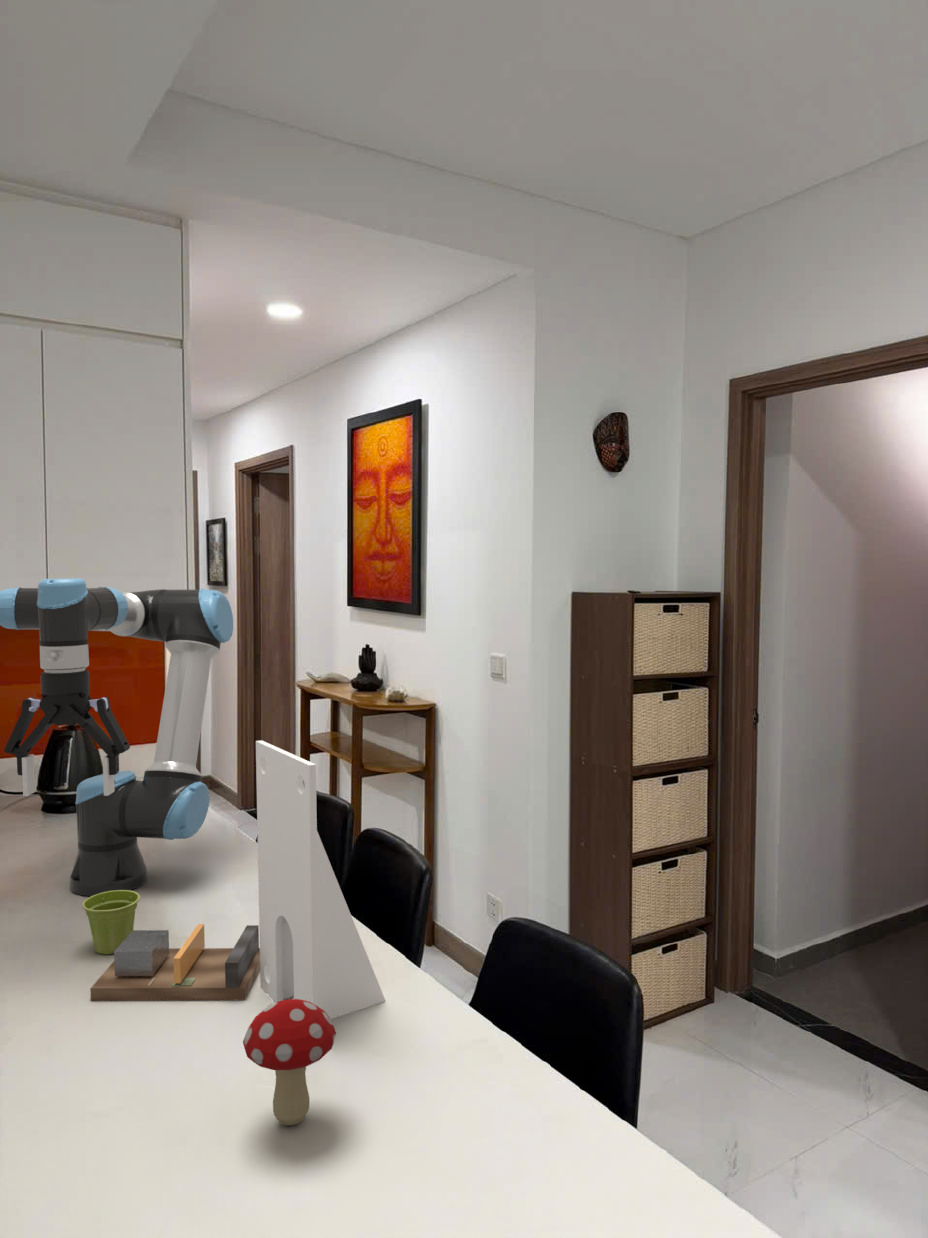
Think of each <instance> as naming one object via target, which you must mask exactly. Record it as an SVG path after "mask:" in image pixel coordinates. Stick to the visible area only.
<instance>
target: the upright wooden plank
mask: <svg viewBox="0 0 928 1238" xmlns="http://www.w3.org/2000/svg"><path fill="white" fill-rule="evenodd" d="M205 940H206V938H205V924H204V923H198V924H197V925H196V926H195V928H194V929H193V931H192V932H191V933H190V935H189V936H188V937H187V939H186V941H184V943H183V944H182V946H181V947H180V948H181V949H180V950H179V951H178V953H177V954H176V956H175V957H174V958H173V960H174V983H181V982H182V980H183V979H184V977H185V976H186V974H187V973H188V971H189V970H190V968H191V967H192V965H193V964H194V962H195V961H196V959H197V958H198V956H199V955H200V953H201V952H202V950H203V949H204V948H206V947H205V946H206V944H205V942H206V941H205Z"/></svg>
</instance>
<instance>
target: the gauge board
mask: <svg viewBox="0 0 928 1238" xmlns="http://www.w3.org/2000/svg"><path fill="white" fill-rule="evenodd" d="M180 949H181V947H180V948H170V947H169V954H168V956H167V957H166V959H165V960H164V961H163V963H162V964H161V965H160V967H159V968H158V969H157V971H156V972H155V973H154V975H153V976H115V965H114V961H113V962H112V963H111V964H110V965H109V966H108V967H107V968H106V970H105V971H104V972H103V973H102V974H101V975H100V977H99V978H98V979H97V980H96V981H95V982H94V984H92V985H91V987H90V1001H91V1002H100V1001H102V1002H103V1001H104V1002H106V1001H107V1002H108V1001H109V1002H116V1001H117V1002H122V1001H125V1002H126V1001H127V1002H128V1001H130V1002H133V1001H134V1002H135V1001H140V1002H141V1001H143V1002H144V1001H153V1002H155V1001H246V999H247V998H248V995H249V993H250V991H251V989H252V987H253V986H254V982H255V981H256V979H257V976H258V974H260V933H259V925H258V924H257V925H255V924H253V925H249V924H248V925H246V926H245V928H244V930H243V931H242V933H241V935H240V937H239V938H238V940H237V941H236V943H235V944H234V947H233V948H231V947H229V948H228V947H225V948H224V947H222V948H221V947H220V948H219V947H215V948H214V947H211V948H209V947H208V948H206V947H204V949H203V950H202V952H201V953H200V955H199V956H198V958H197V959H196V961H195V962H194V964H193V965H192V967H191V968H190V970H189V971H188V973H187V974H186V976H185V977H184V979H183V980H182V982H181V983H174V960H173V958H174V957H175V956H176V954H177V953H178V951H179V950H180Z"/></svg>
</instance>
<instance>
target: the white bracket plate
mask: <svg viewBox="0 0 928 1238" xmlns="http://www.w3.org/2000/svg"><path fill="white" fill-rule="evenodd" d="M255 763H256V764H255V767H256V768H255V769H256V770H255V772H256V780H255V781H256V816H257V817H256V819H257V821H256V823H257V824H256V826H257V866H258V867H257V869H258V871H257V872H258V873H257V874H258V879H257V880H258V918H259V919H258V920H259V921H258V923H259V948H260V971H259V976H260V985H259V986H260V989H262V990H263V992H265V994H266V993H267V994H268V995H269V996H268V995H267V994H266V995H267V996H268V997H269V998H270V999H271V1000H272V1001H273V1002H274V1003H277V1002H279V1001H282V1000H286V999H287V998H288V999H289V998H292V997H293V999H300V1000H305V1001H309V1002H311V1003H313V1004H315V1005H316V1006H318V1007H319V1008H321V1009H322V1010H324V1011H325V1012H326V1014H327V1015H328V1016H329V1017H330V1019H331V1020H332V1019H335V1018H337V1017H342V1016H344V1015H347V1014H350V1013H353V1012H356V1011H359V1010H362V1009H365V1008H369V1007H372V1006H374V1005H378V1004H381V1003H384V1002H386V999H385V997H384V994H383V991H382V988H381V985H380V983H379V981H378V978H377V976H376V974H375V972H374V969H373V966H372V964H371V962H370V959H369V957H368V954H367V951H366V949H365V946H364V944H363V941H362V939H361V936H360V934H359V931H358V929H357V926H356V924H355V922H354V919H353V916H352V914H351V912H350V911H351V910H350V909H349V906H348V904H347V901H346V899H345V897H344V894H343V892H342V889H341V887H340V884H339V882H338V879H337V877H336V875H335V871H334V870H333V867H332V865H331V862H330V860H329V856H328V854H327V851H326V850H325V847H324V844H323V842H322V839H321V837H320V834H319V832H318V825H317V824H318V822H317V821H318V819H317V815H318V814H317V764H316V763H314V762H312V761H309V760H306V759H305V758H302V757H300V756H299V755H296V754H293V753H291V752H289V751H287V750H284V749H282V748H281V747H278V746H275V745H273V744H271V743H268V742H266V741H265V740H262V739H261V740H255Z"/></svg>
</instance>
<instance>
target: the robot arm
mask: <svg viewBox="0 0 928 1238" xmlns="http://www.w3.org/2000/svg"><path fill="white" fill-rule="evenodd" d="M0 626H1V627H2V628H5V629H9V630H16V631H22V630H35V631H36V630H39V631H38V633H39V640H38V641H39V663H40V666H39V667H40V669H42V670H44V671H42V672H41V674H40V692H41V693H40V694H41V699H37V698H36V697H34V696H30V697H29V698H25V699H24V700H22V701H21V713H20V714H19V716H18V719H17V721H16V723H15V725H14V728H13V729H12V731H11V734H10V736H9V738H8V740H7V742H6V745H5V747H4V749H3V750H4V753H6V754H8V755H9V754H11V755H14V756H15V757H16V773H17V775H18V776H21V777H22V796H23V797H28V796H30V795H32V794H34V793H36V775H35V773H36V771H35V754H33V753H31V750H33V748H34V746H36V744H37V743H38V742H39V741H40V740H41V738H42V737H43V736H44V735H45V734H46V732H47V731H48V730H49V729H50V727H51V726H52V725H54V726H62V725H66V726H76V725H78V726H79V727H80V728H82V729H83V730H84V731H86V734H88V735H89V736H90V737H91V739H93V741H94V742H95V743H96V744H97V745H98V746H99V747H100V749H101V750H102V751H103V752H104V753H105V754H106V755H104V756H103V757H102V774H98V775H95V776H92V777H89V778H86V779H84V780H82V781H81V782H80V783H78V785H77V786H76V794H75V795H76V798H75V807H76V828H77V832H76V833H77V854H76V857H75V861H74V862H73V863H74V864H73V867H72V870H71V873H70V877H69V884H70V885H69V889H70V891H71V892H72V893H73V894H76V895H80V896H84V897H85V896H86V897H87V896H88V897H91V896H93V895H96V894H99V893H103V892H107V891H114V890H130V891H133V890H134V889H136V888H139V887H141V886H142V885H144V884H145V883H146V881H147V880H148V872H147V871H148V870H147V865H146V863H145V861H144V857H143V855H142V853H141V850H140V847H139V845H138V844H139V843H138V838H143V839H145V838H147V839H160V840H161V839H162V840H163V839H164V840H169V841H173V840H187V839H190V838H192V837H193V836H195V835H196V834H197V833H198V832H199V830H200V829H201V827H202V826H203V824H204V822H205V821H206V818H207V814H208V812H209V806H210V799H211V798H210V796H209V794H210V790H209V788H208V786H207V785H206V784H205V783H204V782H202V777H203V775H202V773H201V772H200V771H199V770H198V769H197V761H198V755H199V747H200V740H201V732H202V726H203V718H204V712H205V711H204V710H205V705H206V698H207V693H208V692H207V691H208V683H209V677H210V671H211V670H210V669H211V663H212V659H213V658H214V657H215V656H217V655H219V653H220V650H221V644H225V643H226V642H229V641H230V640H231V637H232V636H233V632H234V616H233V611H232V607H231V604H230V602H229V600H228V598H227V596H226V595H225V594H224V593H223V592H221V591H220V590H216V589H215V590H213V589H205V588H200V589H165V588H164V589H163V588H162V589H152V590H150V589H149V590H144V591H143V590H142V591H131V592H130V591H129V592H128V591H120V590H119V589H117V588H113V587H107V586H102V587H101V586H98V587H89V588H88V587H87V583H86V581H85V580H84V578H78V577H77V578H75V577H73V578H72V577H71V578H70V577H69V578H67V577H64V578H43V579H41V580H40V581H39V583H38V585H37V587H15V588H13V587H12V588H5V589H2V590H0ZM90 631H91V632H93V631H94V632H111V633H112V634H114V635H116V636H119V637H130V638H131V637H132V638H137V639H142V640H147V641H148V640H149V641H157V642H165V643H164V647H165V648H166V649H167V651H168V652H169V653H170V658H169V664H168V670H167V677H166V683H165V687H164V688H165V689H164V696H163V700H162V707H161V713H160V720H159V721H160V722H159V727H158V733H157V739H156V746H155V751H154V752H155V753H154V758H153V763H152V764H151V765H150V766H148V767H147V768H146V769H144V774H143V778H142V780H138V779H137V775H136V773H135V772H134V771H131V770H122V771H121V770H120V755H121V754H123V753H125V752H127V751H129V750H130V748H131V745H130V742H129V741H128V739H127V737H126V735H125V733H124V732H123V730H122V728H121V727H120V724H119V722H118V720H117V718H116V717H115V715H114V713H113V712H112V709H111V702H110V699H109V697H107V696H103V697H101V698H97V699H95V698H94V699H92V697H91V695H90V692H91V691H90V689H91V686H90V671H89V670H88V669H86V668H88V667H89V666H90V657H89V632H90ZM39 708H40V710H41V711H42V713H43V714H44V715H43V717H42V718H41V719H40V721H39V722H38V724H37V725H36V726H35V728H34V729H33V730H32V731H31V732H30V733H29V735H28V736H27V737H26V738H25V740H24V741H23V739H24V737H25V736H26V733H27V731H28V728H29V726H30V725H31V722H32V720H33V718H34V715H35V713H36V711H39ZM91 708H93V709H94V711H95V712H97V714H98V716H99V718H100V720H101V722H102V724H103V726H104V727H105V729H106V732H107V733H108V735H109V736H108V735H107V733H106V732H105V731H104V730H103V728H101V726H99V724H98V723H97V722H96V720H95V717H93V715H92V714H90V710H91ZM30 753H31V754H30Z"/></svg>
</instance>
